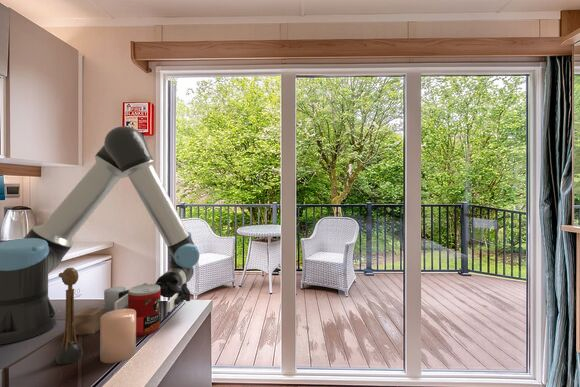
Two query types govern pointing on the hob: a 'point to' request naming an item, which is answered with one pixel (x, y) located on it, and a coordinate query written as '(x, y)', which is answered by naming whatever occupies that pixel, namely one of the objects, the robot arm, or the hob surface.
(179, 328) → the hob surface
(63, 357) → the wooden tabletop sculpture
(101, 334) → the peach cylinder
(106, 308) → the grey-white rounded cylinder
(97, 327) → the walnut block
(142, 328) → the canned food
